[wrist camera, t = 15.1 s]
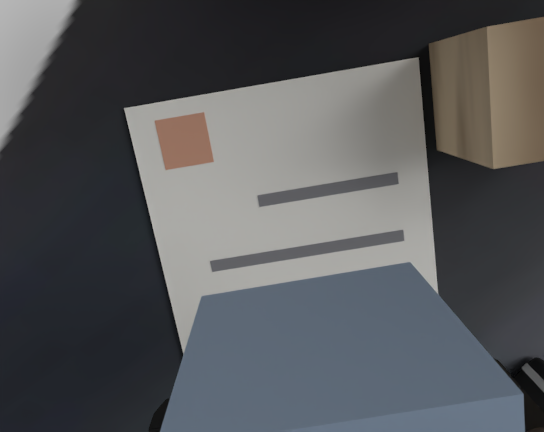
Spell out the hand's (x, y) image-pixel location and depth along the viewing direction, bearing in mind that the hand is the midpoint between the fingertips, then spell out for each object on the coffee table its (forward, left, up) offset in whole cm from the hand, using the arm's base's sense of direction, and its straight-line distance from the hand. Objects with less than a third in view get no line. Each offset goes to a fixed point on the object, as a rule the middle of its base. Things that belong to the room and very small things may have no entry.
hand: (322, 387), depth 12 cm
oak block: (-10, -6, -13) cm, 17 cm away
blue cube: (0, 0, -1) cm, 1 cm away
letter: (0, +1, -12) cm, 13 cm away
